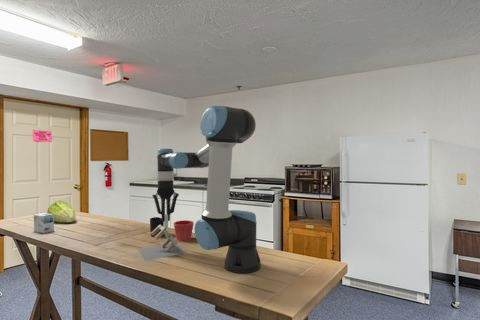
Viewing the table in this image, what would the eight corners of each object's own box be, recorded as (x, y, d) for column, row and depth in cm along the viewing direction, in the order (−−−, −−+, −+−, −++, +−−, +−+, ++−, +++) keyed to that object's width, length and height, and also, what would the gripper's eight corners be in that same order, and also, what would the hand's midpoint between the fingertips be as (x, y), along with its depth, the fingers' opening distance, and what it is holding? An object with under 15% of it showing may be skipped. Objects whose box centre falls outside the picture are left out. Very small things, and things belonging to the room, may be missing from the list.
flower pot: (189, 242, 158) (189, 224, 158) (170, 241, 161) (170, 224, 161) (196, 237, 169) (196, 220, 169) (178, 236, 171) (178, 220, 171)
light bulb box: (54, 231, 186) (54, 214, 186) (43, 233, 180) (43, 215, 180) (44, 229, 191) (44, 212, 191) (33, 231, 185) (33, 214, 185)
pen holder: (163, 232, 181) (163, 216, 181) (168, 235, 173) (168, 218, 173) (147, 234, 176) (147, 218, 176) (152, 238, 168) (152, 220, 168)
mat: (188, 253, 140) (188, 253, 140) (145, 261, 130) (145, 260, 130) (176, 243, 157) (176, 242, 157) (136, 249, 148) (136, 248, 148)
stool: (177, 243, 144) (165, 228, 141) (168, 252, 141) (155, 237, 138) (172, 238, 152) (159, 224, 149) (162, 246, 150) (150, 232, 147)
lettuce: (82, 228, 215) (58, 235, 203) (67, 213, 229) (44, 218, 216) (82, 210, 210) (58, 216, 198) (67, 196, 224) (44, 201, 212)
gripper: (176, 179, 152) (176, 224, 152) (150, 179, 146) (150, 227, 146) (180, 179, 146) (180, 227, 146) (153, 180, 139) (154, 230, 139)
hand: (165, 227), depth 146 cm, fingers closed
